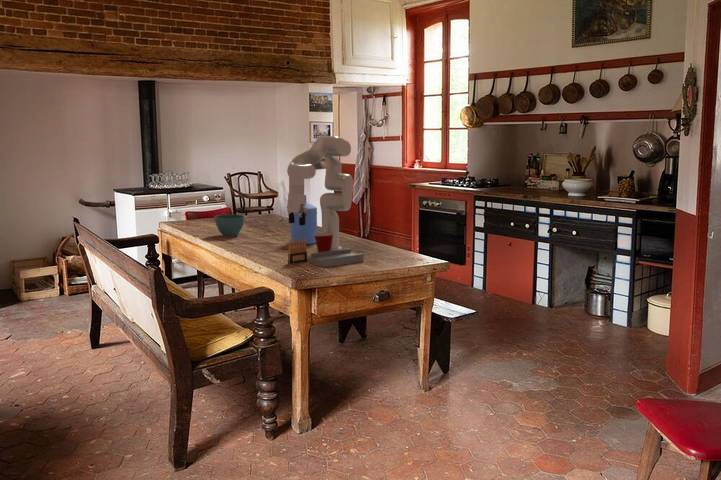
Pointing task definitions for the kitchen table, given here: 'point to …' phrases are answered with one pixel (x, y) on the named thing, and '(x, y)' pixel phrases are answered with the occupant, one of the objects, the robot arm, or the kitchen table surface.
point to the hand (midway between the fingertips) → (296, 224)
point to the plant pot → (229, 224)
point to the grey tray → (336, 258)
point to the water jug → (305, 226)
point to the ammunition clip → (297, 252)
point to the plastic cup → (323, 241)
